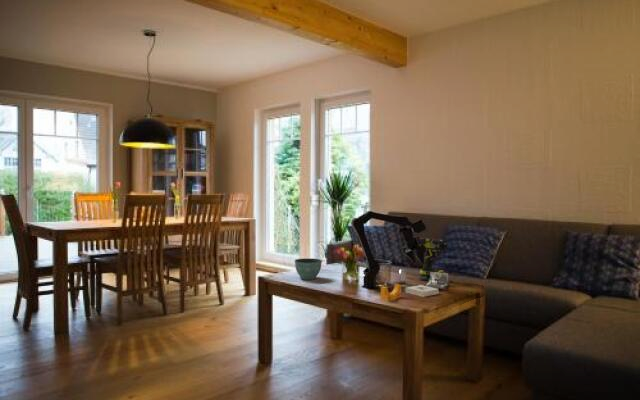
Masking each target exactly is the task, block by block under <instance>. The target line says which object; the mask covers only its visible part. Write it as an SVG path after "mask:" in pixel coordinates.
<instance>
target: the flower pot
mask: <svg viewBox="0 0 640 400" xmlns="http://www.w3.org/2000/svg"><path fill="white" fill-rule="evenodd" d="M322 262H323V260H322V259H319V258H296V259H295V260H294V265H295V271H296V272H297V275H298V276H299V278H300V279H301V280H306V281H307V280H308V281H311V280H315V279H317V277H318V275H319V273H320V272H321V269H322V264H323V263H322Z"/></svg>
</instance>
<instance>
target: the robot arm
mask: <svg viewBox="0 0 640 400" xmlns="http://www.w3.org/2000/svg"><path fill="white" fill-rule="evenodd" d="M372 219H373V220H377V221H383V222H387V223H392V224H394V225H396V226H399V227H398V228H397V231H396V233H398V234H401V236H402V238H403V243H405V245H403V246H401V248H400V251H401V253H403V255H405V256H406V257H407V258H408V259H409V260H411V262H412V263H414V264H415V263H416V259H417V260H418V261H419V262H420V264H421V265H423V264H424V259H425V257H424V256H425V253H427V252H426V250H427V249H426V247H425V246H421V245H420V244H426V239H425V238H423V237H422V238H421V237H420V236H414V234H416V235H417V234H420V233H422V232H425V231H426V230H427V228H426V225H425V223H424V222H423V221H422V219H421V218H419V219H418V220H416V221H414V222H413V221H410V220H409V218H408V217H407V216H405V215H404V216H403V215H391V214H386V213H385V214H384V213H380V212H375V211H372V210H368V211H366V212H365V213H363V214H361V215H360V216H358V217H354V218H352V220H351V222H350V225H351V226H352V229H353V230H354V232H355V233H356V235H357V237H358V240H359V243H360V245H361V249H362V251H363V254H364V257H365V263H366V264H365V265H366V268H364V270H362V272H363V275H364V276H363V284H362V285H361V288H365V289H369V290H371V289H376V288H378V286H377V275H378V274H379V273H380V271H381V268H380V267H381V265H380V263H379V259H378V258H377V257H374V255H373V252H372V250H371V247H370V244H369V241H368V238H367V236H366V233H365V232H366V231H365V224H367V223H368V222H369V221H370V220H372ZM407 226H408V227H407Z"/></svg>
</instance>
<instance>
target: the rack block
mask: <svg viewBox="0 0 640 400" xmlns="http://www.w3.org/2000/svg"><path fill="white" fill-rule="evenodd" d="M423 285H424V284H418V285H417V286H412V287H406V291H405V293H407V294H411V295H415V296H419V297H422V298H425V297H429V296H435V295H439V289H440V288H432V287H428V286H423Z"/></svg>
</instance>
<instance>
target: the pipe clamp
mask: <svg viewBox="0 0 640 400" xmlns="http://www.w3.org/2000/svg"><path fill="white" fill-rule="evenodd" d="M388 289H389V288H388V287H386V286H384V285H383V286H380V300H381V301H384V302H391V301H396V300H397V299H399V298H402V291H401V285H400V284H395V287H394V289H392V290H391V292H389V290H388Z"/></svg>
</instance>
